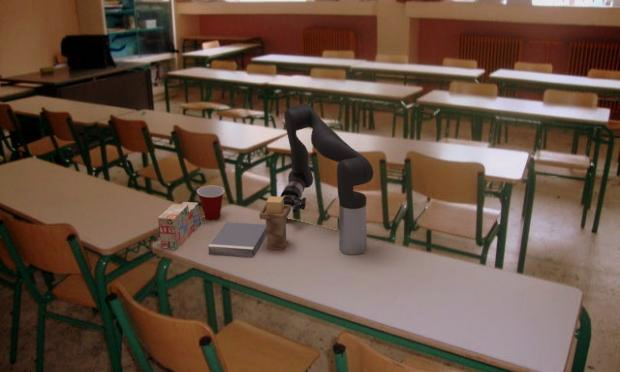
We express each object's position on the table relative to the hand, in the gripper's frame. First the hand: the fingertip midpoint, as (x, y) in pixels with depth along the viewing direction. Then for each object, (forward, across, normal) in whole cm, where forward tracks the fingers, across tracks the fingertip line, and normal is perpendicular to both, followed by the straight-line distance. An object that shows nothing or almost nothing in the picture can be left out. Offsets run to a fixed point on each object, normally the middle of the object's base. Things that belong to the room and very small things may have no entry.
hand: (283, 210), depth 207 cm
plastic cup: (-8, -31, +9) cm, 33 cm away
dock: (+12, -14, +8) cm, 20 cm away
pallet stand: (+12, 0, +8) cm, 14 cm away
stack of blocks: (+9, -37, +9) cm, 39 cm away
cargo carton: (+12, 0, -4) cm, 12 cm away
